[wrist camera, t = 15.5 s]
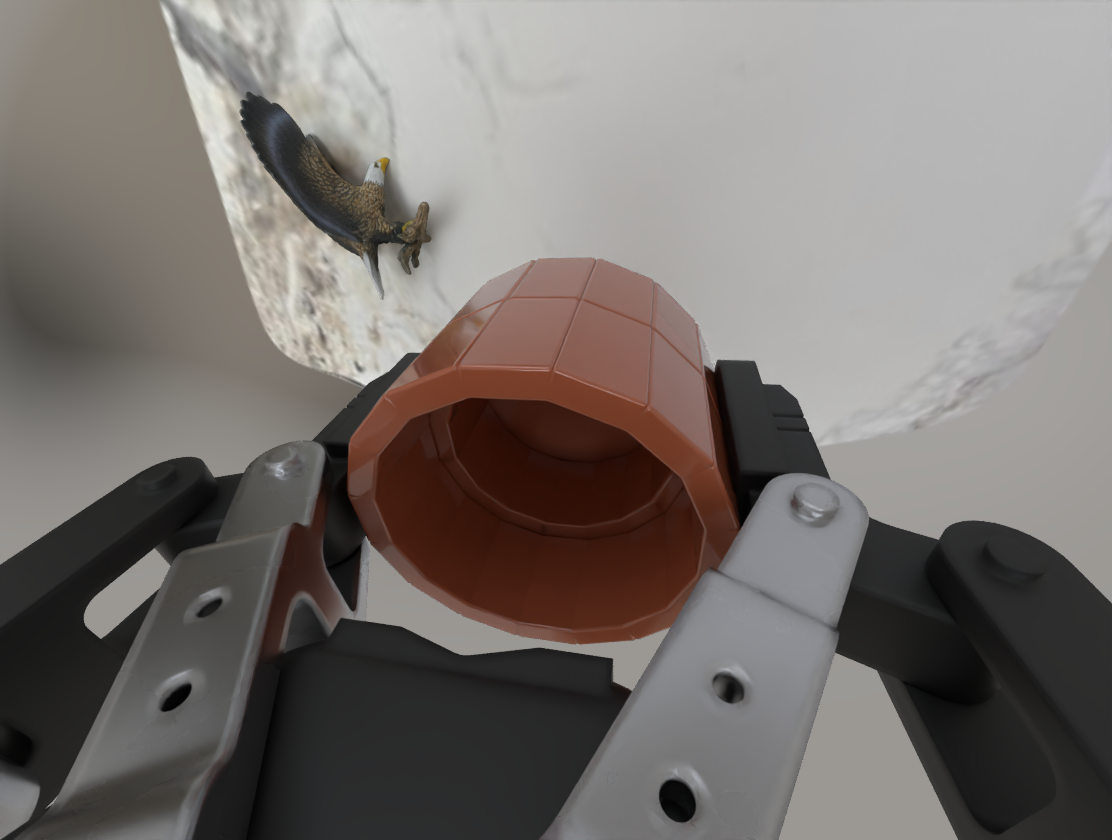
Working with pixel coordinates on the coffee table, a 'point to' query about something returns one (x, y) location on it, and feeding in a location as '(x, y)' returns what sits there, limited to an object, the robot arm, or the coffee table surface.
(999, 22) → the coffee table surface
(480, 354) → the brown cup
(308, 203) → the eagle figurine
